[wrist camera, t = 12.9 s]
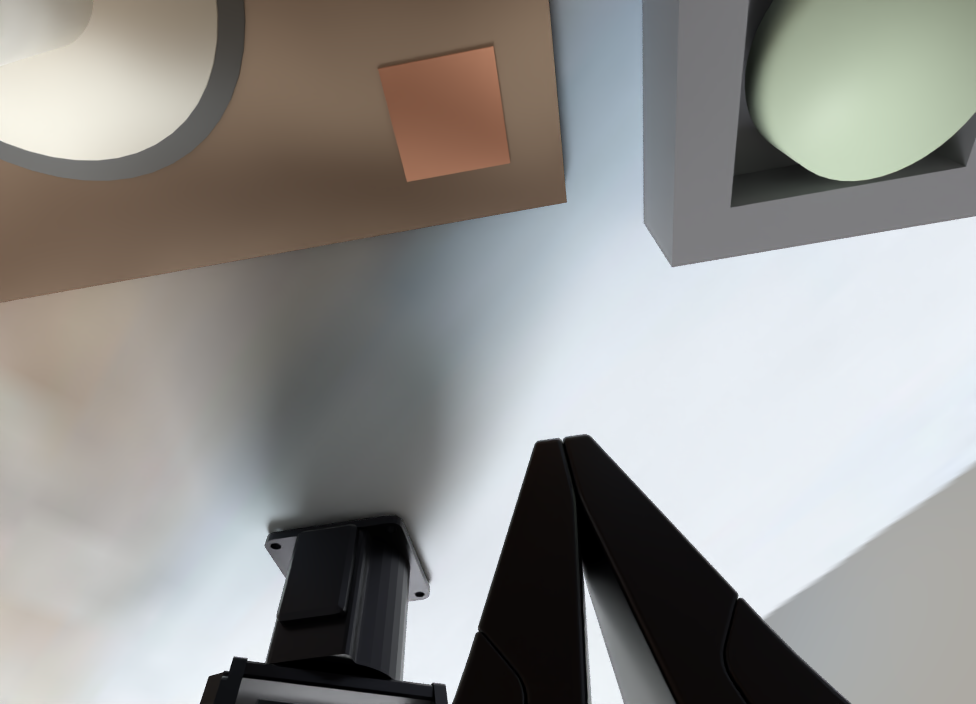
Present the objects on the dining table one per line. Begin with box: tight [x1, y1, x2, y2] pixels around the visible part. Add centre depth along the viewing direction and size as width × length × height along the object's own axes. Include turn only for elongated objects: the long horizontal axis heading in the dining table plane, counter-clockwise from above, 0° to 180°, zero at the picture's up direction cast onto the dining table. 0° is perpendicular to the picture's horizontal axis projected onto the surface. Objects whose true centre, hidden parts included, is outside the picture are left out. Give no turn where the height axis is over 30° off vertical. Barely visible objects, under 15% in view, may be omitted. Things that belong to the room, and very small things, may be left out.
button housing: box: [643, 0, 976, 267], centre depth 14 cm, size 9×9×3 cm
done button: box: [745, 0, 976, 181], centre depth 13 cm, size 5×5×2 cm
